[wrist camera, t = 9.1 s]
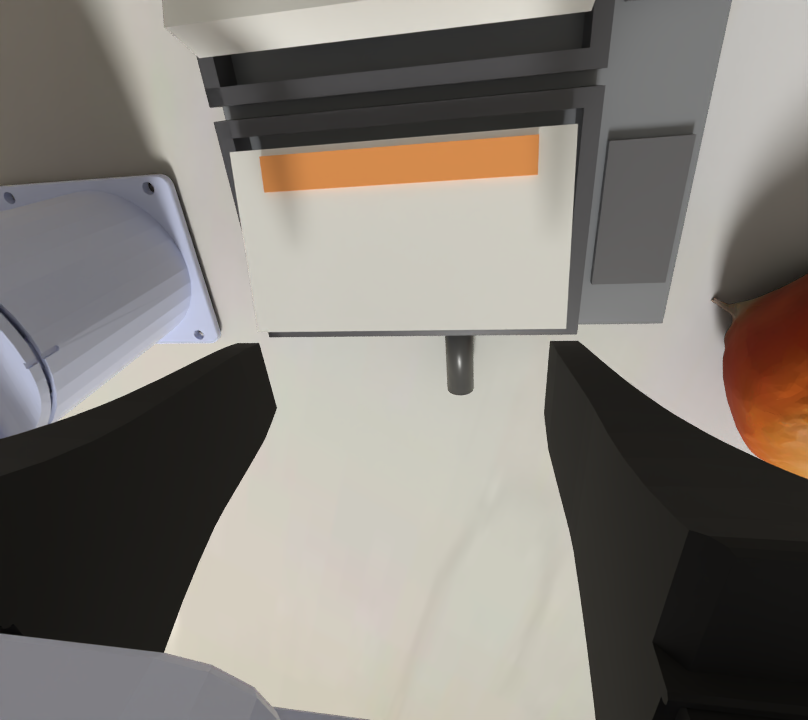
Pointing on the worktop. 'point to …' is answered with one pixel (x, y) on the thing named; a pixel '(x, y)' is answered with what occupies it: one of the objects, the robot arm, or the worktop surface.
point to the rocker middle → (334, 20)
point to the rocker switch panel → (516, 127)
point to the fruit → (770, 374)
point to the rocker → (411, 232)
